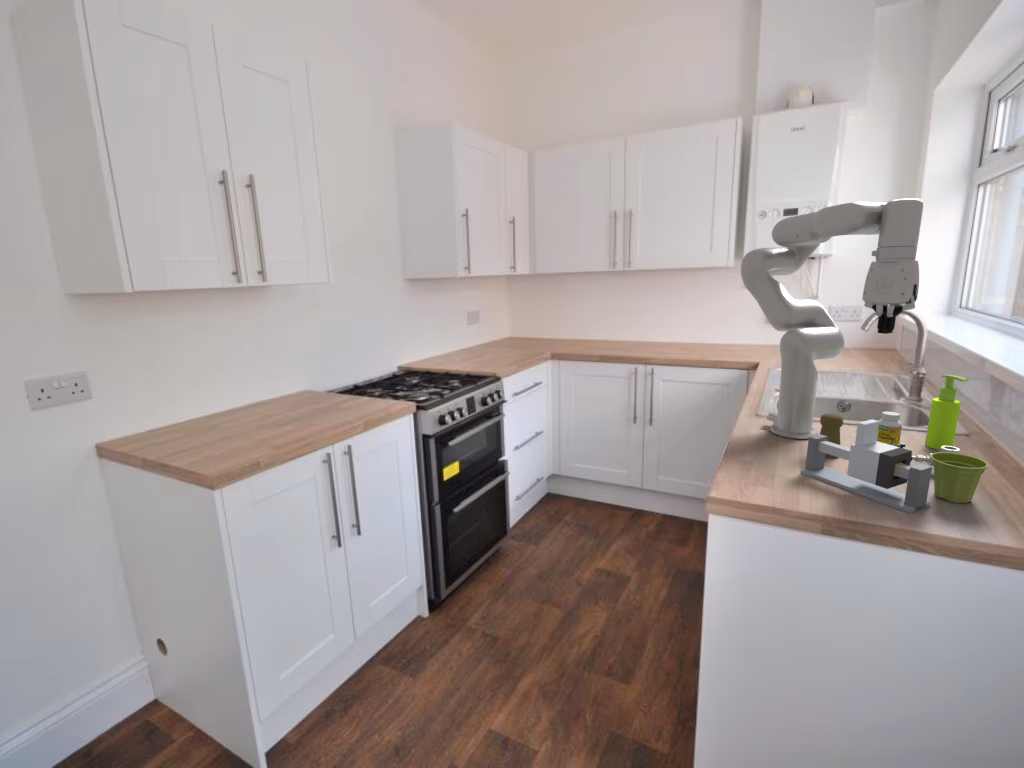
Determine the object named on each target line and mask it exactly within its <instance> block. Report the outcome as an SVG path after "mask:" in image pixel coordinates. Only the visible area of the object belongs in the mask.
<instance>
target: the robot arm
mask: <svg viewBox="0 0 1024 768" xmlns="http://www.w3.org/2000/svg"><path fill="white" fill-rule="evenodd" d="M923 211H924V202H923V200H922V199H920V198H900V199H899V198H898V199H891V200H889V201H886V202H881V201H880V202H878V201H877V202H873V201H872V202H869V201H858V202H857V201H856V202H855V201H854V202H853V201H852V202H848V203H847V202H845V203H841V204H836V205H832V206H831V205H830V206H826V207H824V208H821V209H819V210H818V211H813V212H810V213H804V214H799V215H794V216H789V217H786V218H783V219H781V220H779V221H778V222H777V223H776V224H775V225H774V226H773V228H772V231H771V238H772V240H773V242H774V243H775V244H776V245H778V246H779V247H762V248H761V247H760V248H756V249H753V250H750V251H748V252H747V253H746V254H745V255H744V257H743V258H742V261H741V265H740V275H741V279H742V282H743V285H744V286H745V288H746V289H747V291H748V292H749V293H750V294H751V296H752V297H753V298H754V300H755V301H756V302H757V304H758V306H759V308H760V310H761V311H762V313H763V314H764V316H765V317H766V319H767V321H768V322H769V323H770V326H771V327H772V328H773V329H774V330H776V331H777V332H783V333H784V332H785V333H784V334H783V335H782V336H781V338H780V342H779V353H780V360H781V361H780V365H781V367H780V369H781V370H780V382H779V383H780V384H779V391H778V392H779V393H778V401H777V403H778V405H777V413H773V412H769V413H768V415H767V416H766V420H767V421H771V422H772V424H771V425H770V427H769V431H770V432H771V433H772V434H774V435H777V436H779V437H784V438H789V439H794V440H795V439H796V440H809V437H810V436H814V435H818V434H819V430H817V429H816V428H814V427H813V424H814V417H815V416H814V415H815V405H816V400H817V399H816V396H817V388H818V380H819V376H818V370H817V368H816V365H815V364H814V361H817V360H826V359H827V360H829V359H833V358H835V357H838V356H839V355H840V354H841V353H843V350H844V348H845V339H844V335H843V333H842V331H841V330H840V328H839V327H838V324H836V322H835V321H834V320H833V318H832V317H831V315H830V314H829V312H828V311H827V310H826V308H825V307H824V305H822V304H821V303H820V302H818V301H816V300H814V299H809V298H804V299H802V298H801V299H800V298H799V299H798V298H793V297H792V296H791V295H790V294H789V292H788V291H787V289H786V287H785V286H784V284H782V283H781V282H779V280H777V279H776V278H773V277H772V276H774V277H775V276H789V275H792V274H794V273H797V271H798V270H799V269H801V268H802V266H803V265H804V264H805V263H806V262H807V261H808V260H809V258H810V257H811V256H812V254H813V253H814V252H815V251H816V249H818V247H819V246H821V244H823V243H826V242H827V241H830V239H832V237H838V236H839V237H841V236H852V235H853V236H856V235H857V236H859V235H862V236H864V235H868V236H869V235H870V236H871V235H872V236H873V235H878V242H877V247H876V250H872V251H871V256H872V257H875V261H871V263H870V265H869V268H868V271H867V273H866V276H865V277H866V278H865V281H864V285H863V290H862V292H863V293H862V301H863V302H864V303H863V304H864V307H865V308H869V309H872V310H873V311H874V312H875V313H876V314H875V315H876V316H877V317H878V320H877V325H876V326H877V327H876V329H877V334H883V335H886V334H892V333H893V332H894V329H895V326H896V319H897V317H899V315H900V314H901V313H903V312H904V311H910V310H914V309H915V308H916V304H915V303H916V302H917V300H918V294H919V287H920V266H919V265H920V264H919V260H916V256H917V251H918V250H917V249H918V245H919V244H918V243H919V238H920V237H919V236H920V232H921V230H920V229H921V223H922V217H923Z"/></svg>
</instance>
